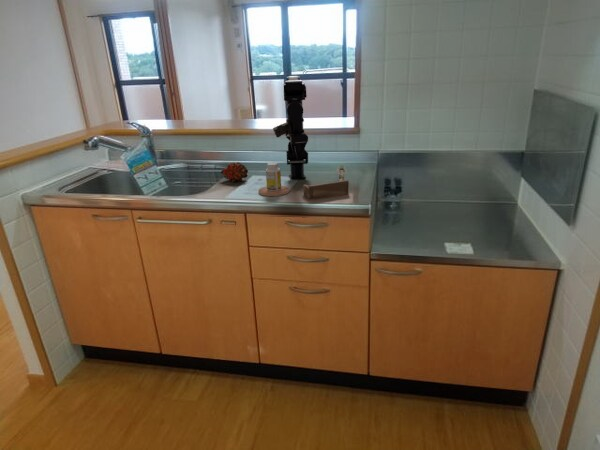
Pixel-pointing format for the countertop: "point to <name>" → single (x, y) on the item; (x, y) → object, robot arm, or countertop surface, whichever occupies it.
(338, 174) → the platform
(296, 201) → the countertop surface
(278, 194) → the terracotta saucer
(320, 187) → the open wooden frame
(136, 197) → the countertop surface
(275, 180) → the supplement bottle
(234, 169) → the red spiky round lump
